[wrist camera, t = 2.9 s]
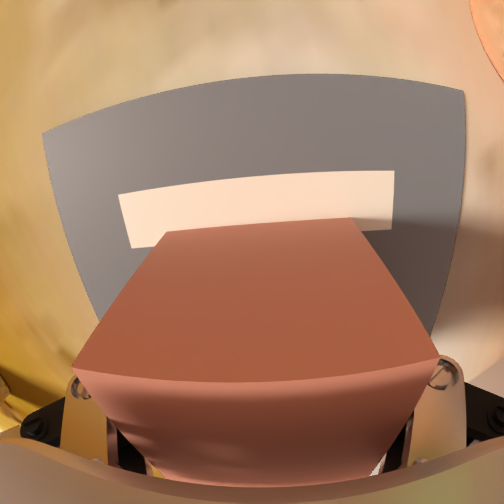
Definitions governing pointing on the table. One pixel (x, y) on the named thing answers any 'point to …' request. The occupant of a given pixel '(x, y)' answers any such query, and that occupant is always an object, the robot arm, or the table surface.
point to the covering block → (260, 355)
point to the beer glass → (490, 29)
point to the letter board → (266, 171)
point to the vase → (3, 390)
